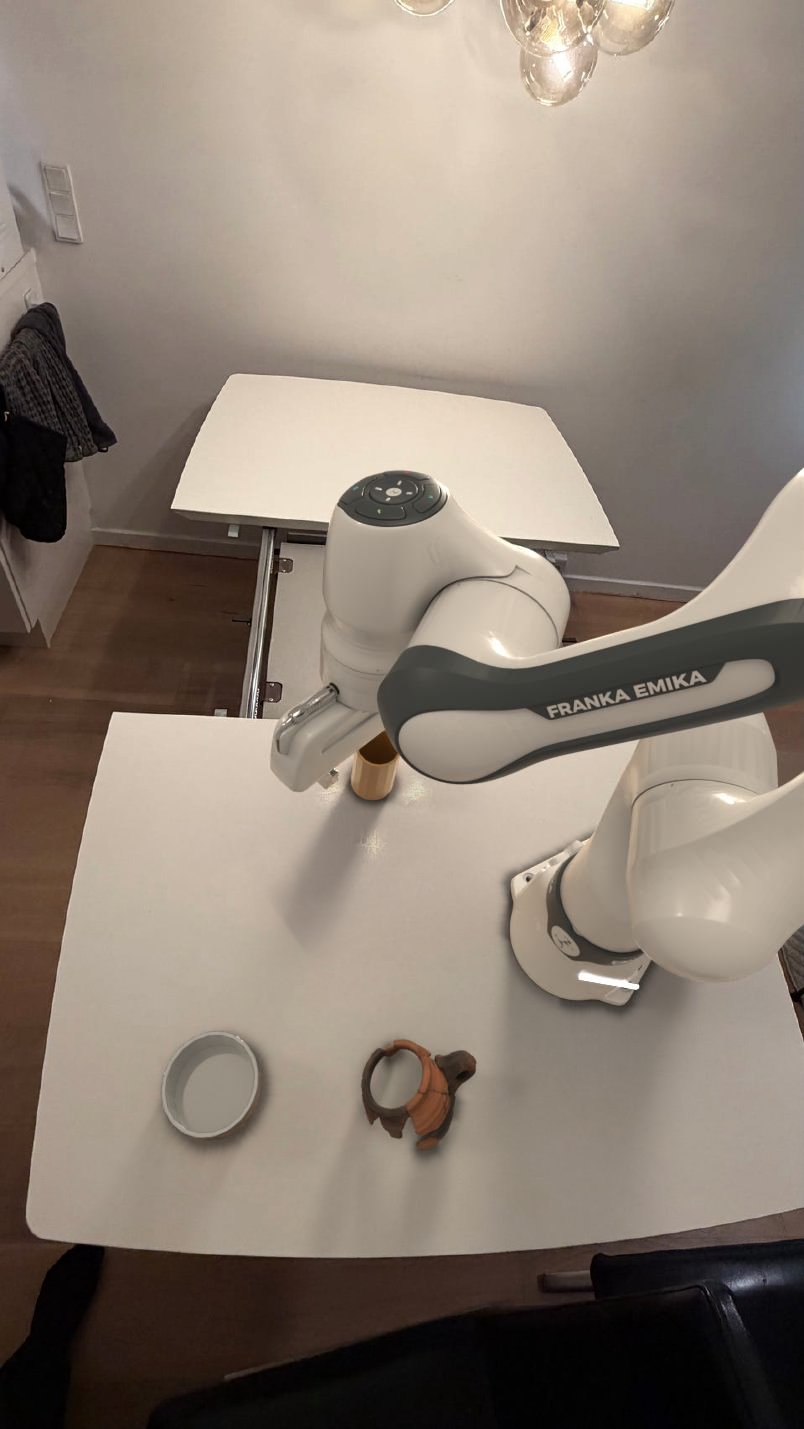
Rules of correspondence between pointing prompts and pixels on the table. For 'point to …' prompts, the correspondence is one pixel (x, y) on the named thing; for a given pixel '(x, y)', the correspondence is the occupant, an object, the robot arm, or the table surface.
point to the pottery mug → (421, 1092)
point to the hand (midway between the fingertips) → (361, 753)
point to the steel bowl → (211, 1086)
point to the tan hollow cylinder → (374, 768)
